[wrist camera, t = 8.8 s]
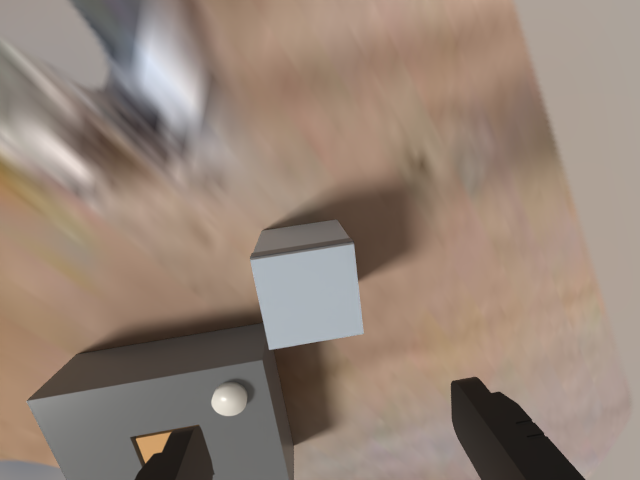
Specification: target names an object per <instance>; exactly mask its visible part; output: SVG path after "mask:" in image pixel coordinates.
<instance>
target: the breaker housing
mask: <svg viewBox="0 0 640 480" xmlns="http://www.w3.org/2000/svg"><path fill="white" fill-rule="evenodd" d="M27 403H28V405H29V407H30V409H31V411H32V413H33V415H34V417H35V419H36V421H37V423H38V425H39V427H40V429H41V431H42V433H43V435H44V437H45V439H46V441H47V443H48V445H49V447H50V449H51V451H52V453H53V455H54V457H55V459H56V461H57V462H58V464H59V466H60V468H61V470H62V472H63V474H64V476H65V478H66V480H135V478H136V476H137V474H138V472H139V471H140V470H141V468H142V467H143V466H144V465H145V461H144V459H143V456H142V453H141V451H140V448H139V446H138V443H137V441H136V437H137V436H139V435H144V434H150V433H155V432H161V431H166V430H172V429H177V428H183V427H188V426H194V425H199V426H200V427H201V429H202V432H203V435H204V438H205V441H206V444H207V448H208V451H209V454H210V457H211V460H212V465H213V480H294V445H293V441H292V436H291V431H290V426H289V422H288V417H287V412H286V407H285V403H284V398H283V393H282V388H281V383H280V379H279V374H278V369H277V364H276V360H275V355H274V350H273V349H272V350H269V346H268V342H267V337H266V332H265V328H264V323H260V324H254V325H248V326H242V327H236V328H230V329H224V330H218V331H212V332H206V333H200V334H195V335H189V336H183V337H177V338H171V339H165V340H159V341H153V342H147V343H141V344H135V345H129V346H123V347H117V348H111V349H105V350H99V351H93V352H87V353H82V354H76V355H75V356H74V357H73V358H72V359H71V360H70V361H69V362H68V363H67V364H66V365H64V366H63V367H62V368H61V369H60V370H59V371H58V372H57V373H56V374H55V375H54V376H53V377H52V378H51V379H49V380H48V381H47V382H46V383H45V384H44V385H43V386H42V387H41V388H40V389H39V390H38V391H37V392H35V393H34V394H33V395H32V396H31V397H30V398H29V399H28V400H27Z"/></svg>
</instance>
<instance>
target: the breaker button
mask: <svg viewBox="0 0 640 480" xmlns="http://www.w3.org/2000/svg"><path fill="white" fill-rule="evenodd" d="M194 426H199V425H194ZM194 426H188V427H194ZM188 427H183V428H188ZM183 428H177V429H183ZM177 429H172V430H166V431H161V432H155V433H150V434H144V435H139V436H137V437H136V441H137V443H138V446H139V448H140V451H141V453H142V456H143V459H144V461H145V464H146V462H147V461H148V460H149V459H150V458H151V456H152V455H153V454H155V453H160V452H162V451H163V449H164V446H165V444H166V442H167V439H168V437H169V435H170V433H171V432H172V431H173V430H177Z"/></svg>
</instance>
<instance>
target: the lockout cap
mask: <svg viewBox="0 0 640 480" xmlns="http://www.w3.org/2000/svg"><path fill="white" fill-rule="evenodd" d="M250 259H251V260H250V261H251V266H252V271H253V276H254V280H255V285H256V290H257V294H258V299H259V304H260V309H261V313H262V318H263V323H264V328H265V332H266V337H267V342H268V346H269V350H272V349H278V348H284V347H290V346H296V345H302V344H308V343H313V342H319V341H325V340H331V339H337V338H343V337H348V336H354V335H360V334H364V333H363V324H362V314H361V305H360V296H359V286H358V277H357V268H356V258H355V249H354V242H353V240H352V239H351V238H349V236H348V235H347V233H346V232H345V230H344V229H343V228H342V226H341V225H340V223H339V222H338V220H337V219H336V220H329V221H323V222H316V223H309V224H303V225H296V226H290V227H283V228H276V229H270V230H263V231H261V234H260V237H259V239H258V242H257V244H256V247H255V249H254V252H253V253H252V254H251V256H250Z"/></svg>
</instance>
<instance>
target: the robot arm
mask: <svg viewBox="0 0 640 480" xmlns="http://www.w3.org/2000/svg"><path fill="white" fill-rule="evenodd" d="M451 406H452V422H453V427H454V430H455V433H456V435H457V437H458V440H459V441H460V443H461V445H462V447H463V448H464V450H465V452H466V454H467V455H468V457H469V459H470V461H471V462H472V464H473V466H474V468H475V469H476V471H477V473H478V475H479V476H480V478H481V480H585V479H584V478H583V476H582V475H581V474H580V473H579V472H578V471H577V470H576V469H575V467H574V466H573V465H572V464H571V463H570V462H569V461H568V460H567V458H566V457H565V456H564V455H563V454H562V453H561V452H560V451H559V449H558V448H557V447H556V446H555V445H554V444H553V443H552V442H551V441H550V439H549V438H548V437H545V435H544V433H543V432H542V430H541V429H540V428H539V427H538V426H537V425H536V424H535V423H533V422H532V419H531V418H530V417H529V416H528V415H527V414H526V412H525V411H524V410H523V409H522V408H521V407H520V406H519V405H518V404H517V403H516V402H514V401H513V400H511V399H510V398H508V397H507V396H505V395H504V394H502V393H501V392H495V393H491V392H490V391H489V390H488V389H487V388H486V386H485V385H484V384H483V383H482V381H481V380H480V379H479V378H477V377H471V378H466V379H460V380H455V381H452V383H451ZM135 480H213V465H212V460H211V457H210V454H209V451H208V448H207V444H206V441H205V438H204V435H203V432H202V429H201V427H200V426H194V427H188V428H183V429H177V430H173V431H172V432H171V433H170V435H169V437H168V439H167V442H166V444H165V446H164V449H163V451H162V452H160V453H155V454H153V455H152V456H151V458H150V459H149V460H148V461H147V462H146V464H145V465H144V466H143V467H142V468H141V470H140V471H139V472H138V474H137V476H136V478H135Z"/></svg>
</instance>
